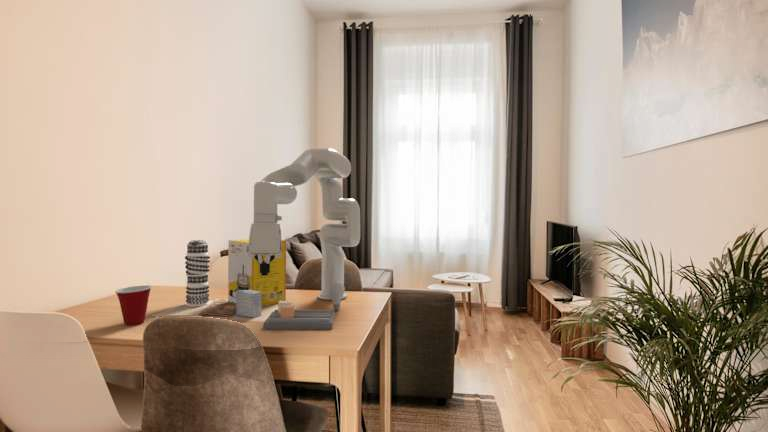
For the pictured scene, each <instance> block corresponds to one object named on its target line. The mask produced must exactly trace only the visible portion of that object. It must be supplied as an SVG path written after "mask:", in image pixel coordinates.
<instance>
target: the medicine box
mask: <svg viewBox="0 0 768 432" xmlns="http://www.w3.org/2000/svg"><path fill="white" fill-rule="evenodd" d="M235 306H236V307H235V308H236V310H235V314H236V316H239V315H240V316H241V317H246V316H247V317H248V318H253V317H254V318H256V316H257V317H259V315H260V316H261V315H262V306H261V292H260V291H252V290H241V291H238V292H236V304H235Z"/></svg>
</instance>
